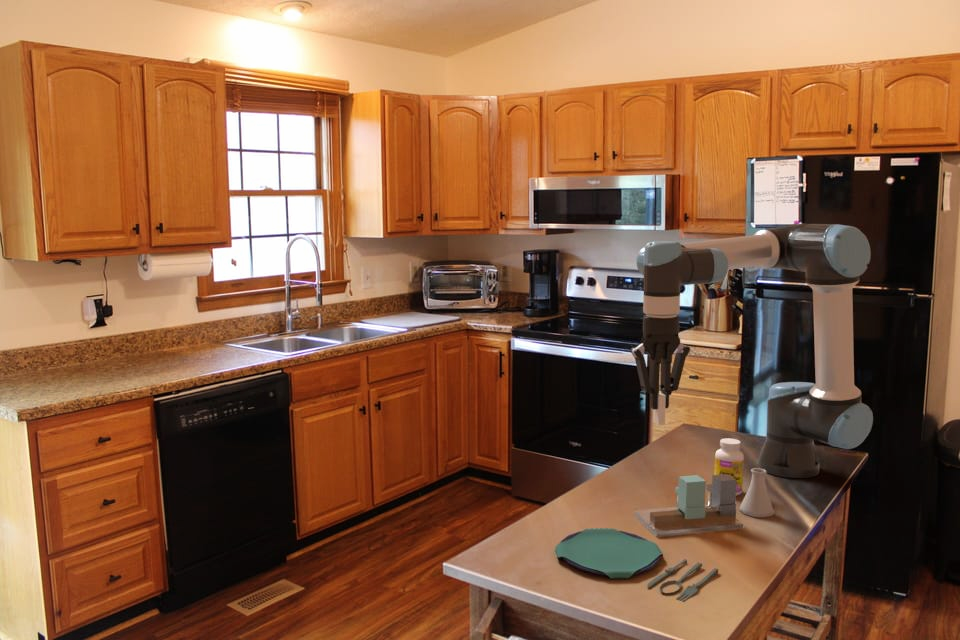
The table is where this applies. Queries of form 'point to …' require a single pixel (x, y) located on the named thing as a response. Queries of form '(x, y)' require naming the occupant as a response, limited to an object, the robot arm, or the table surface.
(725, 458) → the supplement bottle
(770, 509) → the flask
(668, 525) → the base
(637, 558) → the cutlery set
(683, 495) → the block
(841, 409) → the robot arm
